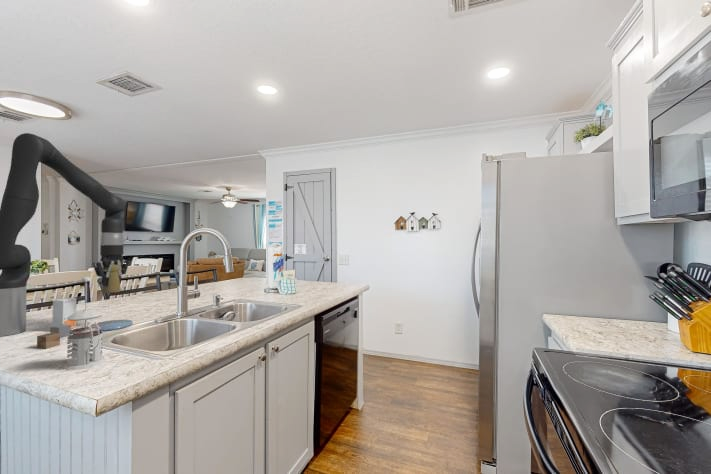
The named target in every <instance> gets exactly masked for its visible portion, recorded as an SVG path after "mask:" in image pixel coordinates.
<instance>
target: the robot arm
mask: <svg viewBox="0 0 711 474" xmlns="http://www.w3.org/2000/svg"><path fill="white" fill-rule="evenodd" d="M11 149H12V150H11V159H10V160H11V161H10V168H9V171H8V176H7V179H6V183H5V189H4V191H3V195H2V199H1V202H0V271H1V272H0V337H4V336H5V337H6V336H11V335H16V334H21V333H24V332H26V331H27V285H28V284H27V282H28V280H29V278H30V276H31V275H30V274H31V264H32V263H31V261H32V257H31V256H32V255H31V252H30V250H29V248H28V247H27V246H25V245H22V244H16V241H17V238H18V236H19V233H20V232H21V230H23V228H24V227H25V226H26V225H27V224H28V223H29V222H30V220H31V219H32V218H33V217H34V215H35V213H36V210H37V208H38V203H39V200H40V191H39V190H40V189H39V187H38V186H39V185H38V181H37V172H38V171H37V170H38V167H39V163H41V164H42V165H44V166H46V167H48V168H50V169H51V170H53V171H55V172H57V174H58V175H59V176H61V177H62V178H63V179H64V180H65V181H66V182H67V183H68V185H70V186H71V187H73V188H74V189H75V190H77V191H78V192H80V193H81V194H82V195H84V196H85V197H87V198H89V199H90V200H91V201H92V202H93V203H94V204H95V205H97V206H98V207H99V208H101V210H104V218H103V219H102V221H101V226H100V227H101V231H100V232H101V234H100V241H99V242H100V244H99V245H100V251H99V255H100V260H99V261H95V262H93V263H92V266H93V268H94V271H95V274H96V277H99V278H101V284H102V288H103V287H104V286H107V287H108V283H109V278H108V277H109V274H110V272H111V269H110V268H111V266H113V265H119V266H120V271H119V272H118V274H119V281H120V285H121V283H122V276H123V275H125V274H126V273H127V271H128V268H129V264H130V260H128V259H124V258H123V255H124V243H125V242H124V241H125V240H124V239H125V238H124V218H125V213H126V203H125V201H124V199H123V198H122V197H120V196H119V195H115V194H114V193H112V192H111V191H109V189H107V188H105V187H104V185H103V184H101V182H99V181H98V180H96V179H95V178H94V177H92V176H91V175H89V174H88V173H86V172H85V171H84V170H82V168H79V167H78V166H77V165H75V164H74V163H73V162H72V161H70V160H69V159H68V158H67V157H66V156H64V155H63V154H62V153H61V152H60V151H59V150H58V149H57V147H55V146H54V144H53V143H51V142H50V141H49V140H48V139H45V138H43V137H41V136H39V135H36V134H34V133H29V132H24V133H21V134H19V135H17V136H16V138H15V139H14V140H13V144H12V148H11ZM104 267H105V268H108V269H107V270H104Z"/></svg>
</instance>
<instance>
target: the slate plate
mask: <svg viewBox="0 0 711 474" xmlns="http://www.w3.org/2000/svg"><path fill="white" fill-rule="evenodd" d="M96 323H97V324H98V326H99V327H101V329H100V330H99V331H101V332H110V331H116V330H117V331H118V330H122V329H126V328H129V327H131V326H132V325H133V320H130V319H113V320H105V321H99V322H96ZM96 323H95V322H94V324H96ZM94 324H90V326H91V327H92V326H94ZM97 324H96V325H95V326H97ZM88 326H89V325H88ZM90 326H89V327H90Z"/></svg>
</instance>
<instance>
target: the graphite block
mask: <svg viewBox="0 0 711 474" xmlns="http://www.w3.org/2000/svg"><path fill="white" fill-rule="evenodd" d="M71 330H72V329H71V325H68V324H61V325H56V326H52V325H51V326H50V332H49V333H60V339H62V338H65V337H66V338H68V337H69V336H70V335H72V334H70V333H69V332H70V331H71Z"/></svg>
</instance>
